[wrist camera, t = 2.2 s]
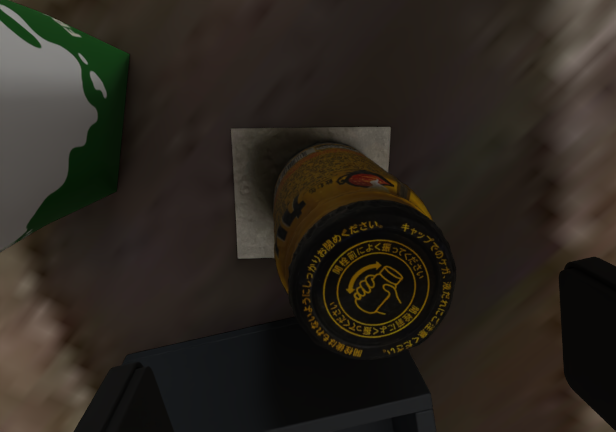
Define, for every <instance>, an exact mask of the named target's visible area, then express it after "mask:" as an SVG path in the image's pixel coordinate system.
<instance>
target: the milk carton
mask: <svg viewBox="0 0 616 432" xmlns="http://www.w3.org/2000/svg"><path fill="white" fill-rule="evenodd" d="M129 58H130V54H128V53H126V52H124V51H121V50H119V49H117V48H115V47H113V46H111V45H109V44H107V43H105V42H103V41H101V40H98V39H96V38H94V37H92V36H90V35H88V34H86V33H84V32H82V31H80V30H78V29H75V28H73V27H71V26H69V25H67V24H65V23H63V22H61V21H59V20H56V19H54V18H52V17H50V16H48V15H46V14H43V13H41V12H38V11H36V10H33V9H30V8H28V7H25V6H22V5H19V4H17V3H14V2H11V1H9V0H0V252H1V251H3V250H5V249H6V248H8V247H10V246H11V245H13V244H15V243H16V242H18V241H20V240H21V239H23V238H25V237H26V236H28V235H30V234H31V233H33V232H35V231H37V230H38V229H40V228H42V227H43V226H45V225H47V224H49V223H51V222H53V221H55V220H58V219H60V218H62V217H64V216H66V215H68V214H70V213H72V212H74V211H77V210H79V209H81V208H83V207H85V206H87V205H89V204H91V203H93V202H95V201H98V200H100V199H102V198H104V197H106V196H108V195H110V194H112V193H114V192H116V191H117V183H118V172H119V162H120V151H121V141H122V130H123V120H124V109H125V99H126V89H127V78H128V68H129Z"/></svg>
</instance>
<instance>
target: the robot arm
mask: <svg viewBox="0 0 616 432" xmlns="http://www.w3.org/2000/svg"><path fill="white" fill-rule="evenodd" d="M559 289H560V307H561V325H562V343H563V362H564V374H565V377H566V380H567V382H568V384H569V385H570V387H571V388H572V389H573V390H574V391H575V392H576V393H577V394H578V395H579V396H580V397H581V398H582V399H583V400H584V401H585V402H586V403H587V404H588V405H589V406H590V407H591V408H592V409H593V410H594V411H595V412H596V413H597V414H599V415H600V416H601V417H602V418H603V419H604V420H605V421H606V422H607V423H608V424H609V425H610V426H611V427H612V428H613V429H614V430H615V431H616V266H614V265H612V264H610V263H608V262H606V261H604V260H602V259H600V258H597V257H591V258H586V259H582V260H577V261H573V262H569V263H567V264H566V266H565V268H564V270H563V271H561V272H560V274H559ZM74 432H174V430H173V427H172V424H171V421H170V418H169V416H168V413H167V410H166V407H165V404H164V401H163V399H162V396H161V393H160V390H159V387H158V384H157V382H156V379H155V376H154V373H153V371H152V369H151V368H150V367H149V366H147V367H143V365H142V364H141V363H140V362H135V363H130V364H126V365H122V366H117V367H113V368H111V369H110V371H109V372H108V374H107V376H106V377H105V379H104V381H103V382H102V384H101V386H100V388H99V389H98V391H97V393H96V394H95V396H94V398H93V400H92V401H91V403H90V405H89V406H88V408H87V410H86V411H85V413H84V415H83V417H82V418H81V420H80V422H79V423H78V425H77V427H76V429H75V430H74Z"/></svg>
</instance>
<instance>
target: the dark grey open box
mask: <svg viewBox="0 0 616 432" xmlns="http://www.w3.org/2000/svg"><path fill="white" fill-rule="evenodd" d="M135 362H140V363H141V364H142V365H143V367H147V366H149V367H150V368H151V369H152V371H153V373H154V376H155V379H156V382H157V384H158V387H159V390H160V393H161V396H162V399H163V401H164V404H165V407H166V410H167V413H168V416H169V418H170V421H171V424H172V427H173V430H174V432H436V426H435V419H434V413H433V408H432V407H433V405H432V399H431V393H430V391H429V389H428V388H427V386H426V384H425V382H424V380H423V378H422V376H421V374H420V372H419V370H418V368H417V366H416V365H415V363H414V361H413V359H412V357H411V355H410V353H409V351H408V350H406V351H404V352H402V353H401V354H399V355H397V356H395V357H388V358H380V359H375V360H371V359H364V360H359V359H349V358H345V357H344V356H342V355H339V354H337V353H334V352H332V351H330V350H328V349H325V348H323V347H321V346H318V345H317V344H315V343H314V342H313V341H312V339H311V338H310V336H309V335H308V334H307V333H306V332H305V330H304V329H303V328H302V327H301V326H300V324H299V323H298V320H297V319H296V318H295V317H293V318H289V319H284V320H280V321H275V322H271V323H267V324H262V325H258V326H253V327H249V328H244V329H240V330H236V331H231V332H227V333H222V334H218V335H213V336H209V337H204V338H200V339H196V340H191V341H187V342H182V343H178V344H173V345H169V346H165V347H160V348H156V349H151V350H147V351H142V352H138V353H133V354H129V355H127V356H126V358H125V360H124V361H123V363H122V365H126V364H130V363H135ZM122 365H121V366H122Z"/></svg>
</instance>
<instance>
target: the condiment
mask: <svg viewBox="0 0 616 432" xmlns="http://www.w3.org/2000/svg"><path fill="white" fill-rule="evenodd" d="M390 132H391V127H320V128H311V127H310V128H241V129H231V137H232V154H233V171H234V191H235V211H236V231H237V252H238V259H242V258H275V261H276V267H277V271H278V274H279V278H280V280H281V282H282V284H283V286H284V289H285V290H286V292H287V294H288V295H289V301H290V305H291V307H292V309H293V313H294V315H295V318H296V319H297V320H298V323H299V324H300V326H301V327H302V328H303V329H304V330H305V332H306V333H307V334H308V335H309V336H310V338H311V339H312V341H313V342H314V343H315V344H317V345H318V346H321V347H323V348H325V349H328V350H330V351H332V352H334V353H337V354H339V355H342V356H344V357H345V358H349V359H359V360H364V359H371V360H375V359H380V358H388V357H395V356H397V355H399V354H401V353H402V352H404V351H406V350H408V349H410V348H412V347H414V346H417V345H420V344H421V343H422V342H424V341H425V340H426V339H427V338H428V337H429V336H430V335H431V334H432V333H433V332H434V331H435V330H436V329H437V327H438V326H439V324H440V323H441V321H442V320H443V318H444V317H445V315H446V313H447V312H448V310H449V307H450V304H451V301H452V295H453V291H454V285H455V281H456V266H455V262H454V259H453V256H452V253H451V250H450V246H449V243H448V242H447V241H446V239H445V238H444V236H443V233H442V231H441V230H440V229H439V228H438V227H437V225H436V224H435V222H433V220H432V217H431V215H430V213H429V212H428V210H427V209H426V207H425V205H424V203H423V201H422V200H421V199H420V198H419V197H418V196H417V195H416V194H415V193H414V191H413V190H411V189H410V188H409V187H408V186H407V185H405V184H403V183H402V182H400V181H399V180H398V179H397V178H396V177H394V176H393V175H391V174H389V173H388V166H389V154H390Z"/></svg>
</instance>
